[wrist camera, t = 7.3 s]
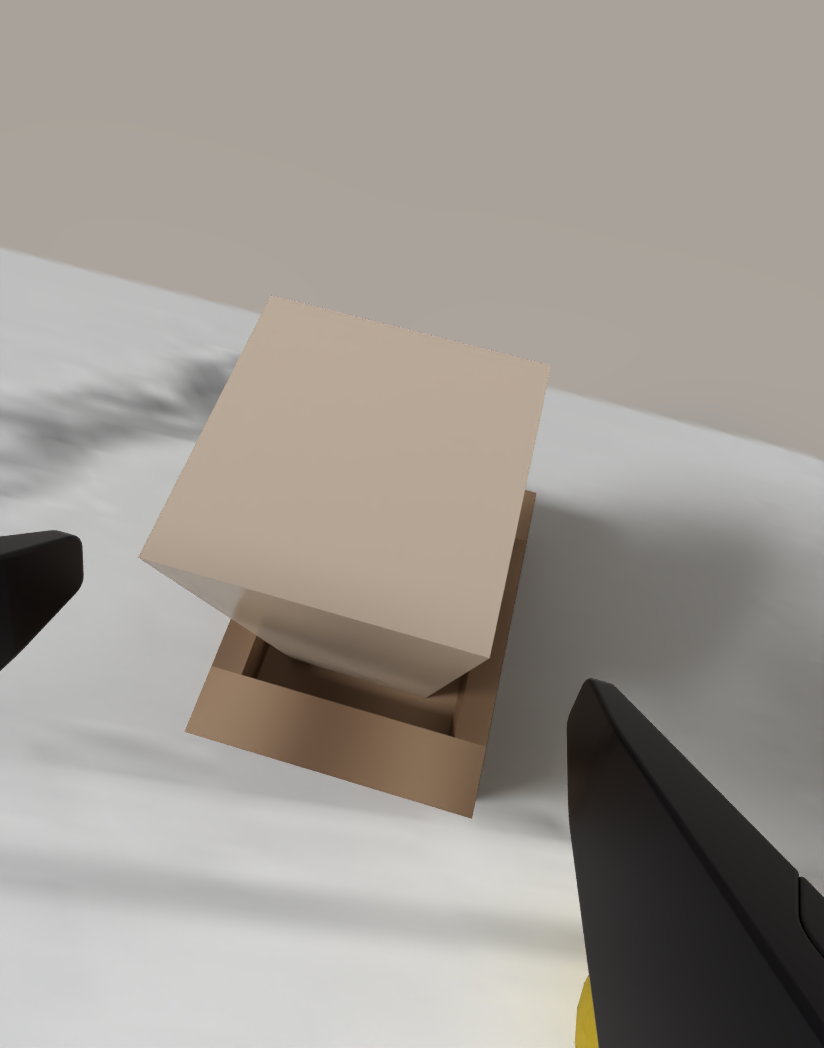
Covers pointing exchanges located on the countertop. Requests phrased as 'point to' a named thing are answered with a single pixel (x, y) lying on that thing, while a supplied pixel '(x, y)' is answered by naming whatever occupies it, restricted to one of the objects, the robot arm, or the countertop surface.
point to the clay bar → (358, 495)
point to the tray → (360, 713)
